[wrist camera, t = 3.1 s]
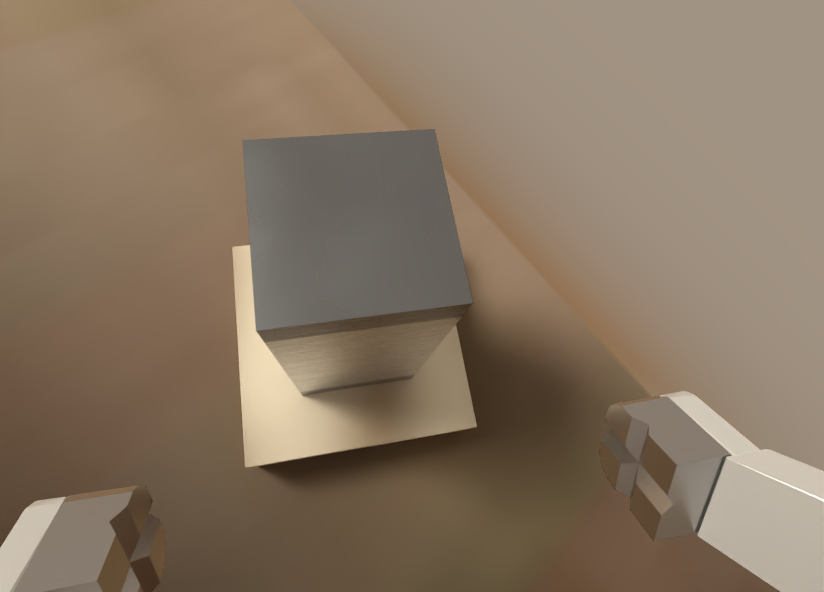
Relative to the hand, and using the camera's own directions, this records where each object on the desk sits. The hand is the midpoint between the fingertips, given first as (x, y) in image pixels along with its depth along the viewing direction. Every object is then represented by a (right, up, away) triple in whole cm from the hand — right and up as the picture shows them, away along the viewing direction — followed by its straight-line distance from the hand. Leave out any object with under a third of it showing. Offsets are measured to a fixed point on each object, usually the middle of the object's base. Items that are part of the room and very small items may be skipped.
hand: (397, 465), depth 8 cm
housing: (-2, +1, +11) cm, 12 cm away
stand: (-3, +1, +14) cm, 14 cm away
